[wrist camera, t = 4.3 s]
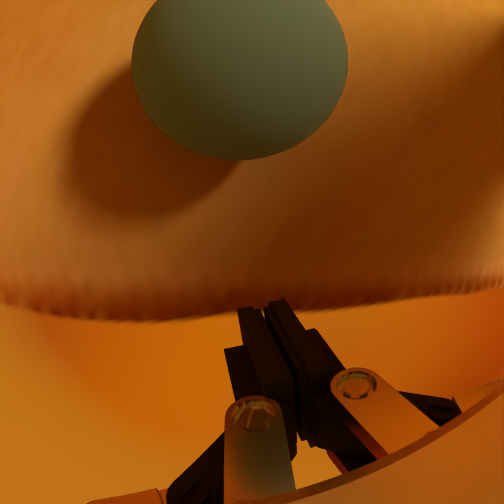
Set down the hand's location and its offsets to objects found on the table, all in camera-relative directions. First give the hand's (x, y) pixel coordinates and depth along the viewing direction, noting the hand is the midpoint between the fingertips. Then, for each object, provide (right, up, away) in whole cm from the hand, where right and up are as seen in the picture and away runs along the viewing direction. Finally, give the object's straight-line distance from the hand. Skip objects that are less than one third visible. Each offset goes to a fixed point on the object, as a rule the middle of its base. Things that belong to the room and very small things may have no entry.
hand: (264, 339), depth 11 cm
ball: (-1, +8, -4) cm, 9 cm away
